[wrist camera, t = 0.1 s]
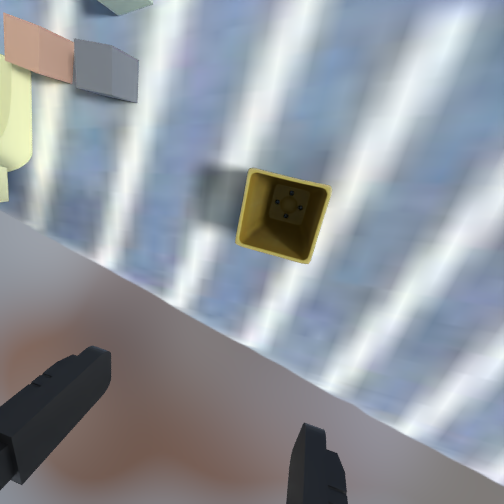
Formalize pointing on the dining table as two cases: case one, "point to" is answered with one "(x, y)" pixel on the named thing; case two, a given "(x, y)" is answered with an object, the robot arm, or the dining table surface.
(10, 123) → the slatted curved stool
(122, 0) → the sage block
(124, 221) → the dining table surface
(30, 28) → the terracotta block
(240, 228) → the flower pot
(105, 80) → the charcoal block
